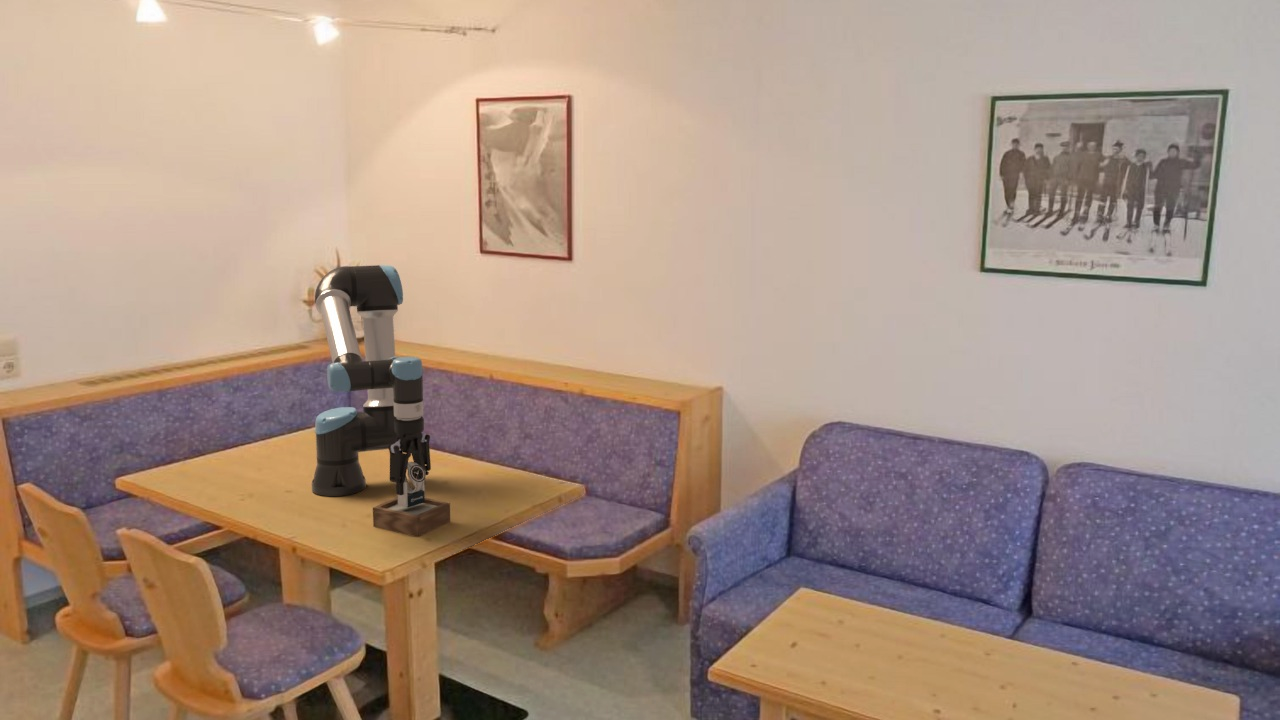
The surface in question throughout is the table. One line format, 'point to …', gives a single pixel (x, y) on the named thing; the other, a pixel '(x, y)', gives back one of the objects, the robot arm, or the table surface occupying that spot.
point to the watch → (415, 484)
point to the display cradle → (411, 516)
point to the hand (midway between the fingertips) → (411, 502)
